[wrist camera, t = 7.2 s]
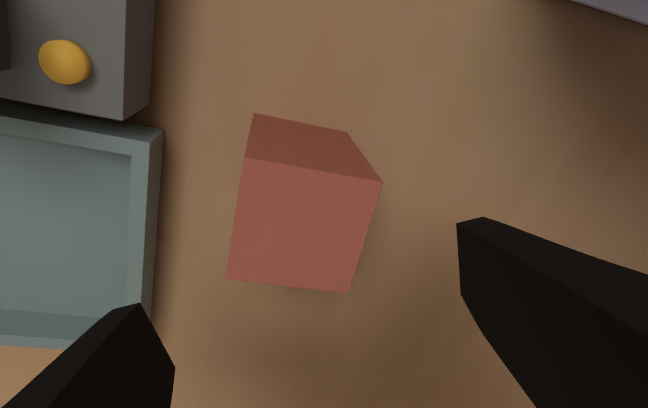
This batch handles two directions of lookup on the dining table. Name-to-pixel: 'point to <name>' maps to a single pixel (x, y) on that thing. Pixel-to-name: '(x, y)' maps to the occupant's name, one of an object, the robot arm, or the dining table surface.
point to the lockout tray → (73, 221)
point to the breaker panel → (80, 55)
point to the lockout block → (301, 207)
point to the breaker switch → (3, 39)
